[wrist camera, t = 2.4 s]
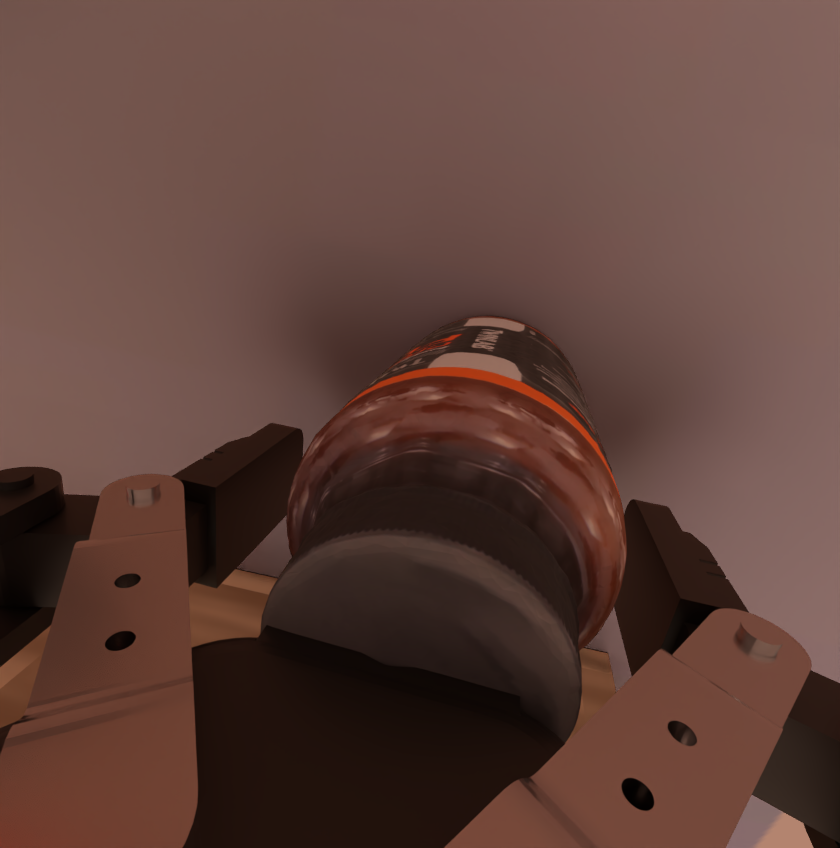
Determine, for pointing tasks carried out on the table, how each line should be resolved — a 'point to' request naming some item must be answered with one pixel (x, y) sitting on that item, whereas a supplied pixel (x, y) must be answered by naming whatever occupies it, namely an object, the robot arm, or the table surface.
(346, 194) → the table surface
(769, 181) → the table surface
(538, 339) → the supplement bottle
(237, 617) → the bread box
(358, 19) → the table surface
